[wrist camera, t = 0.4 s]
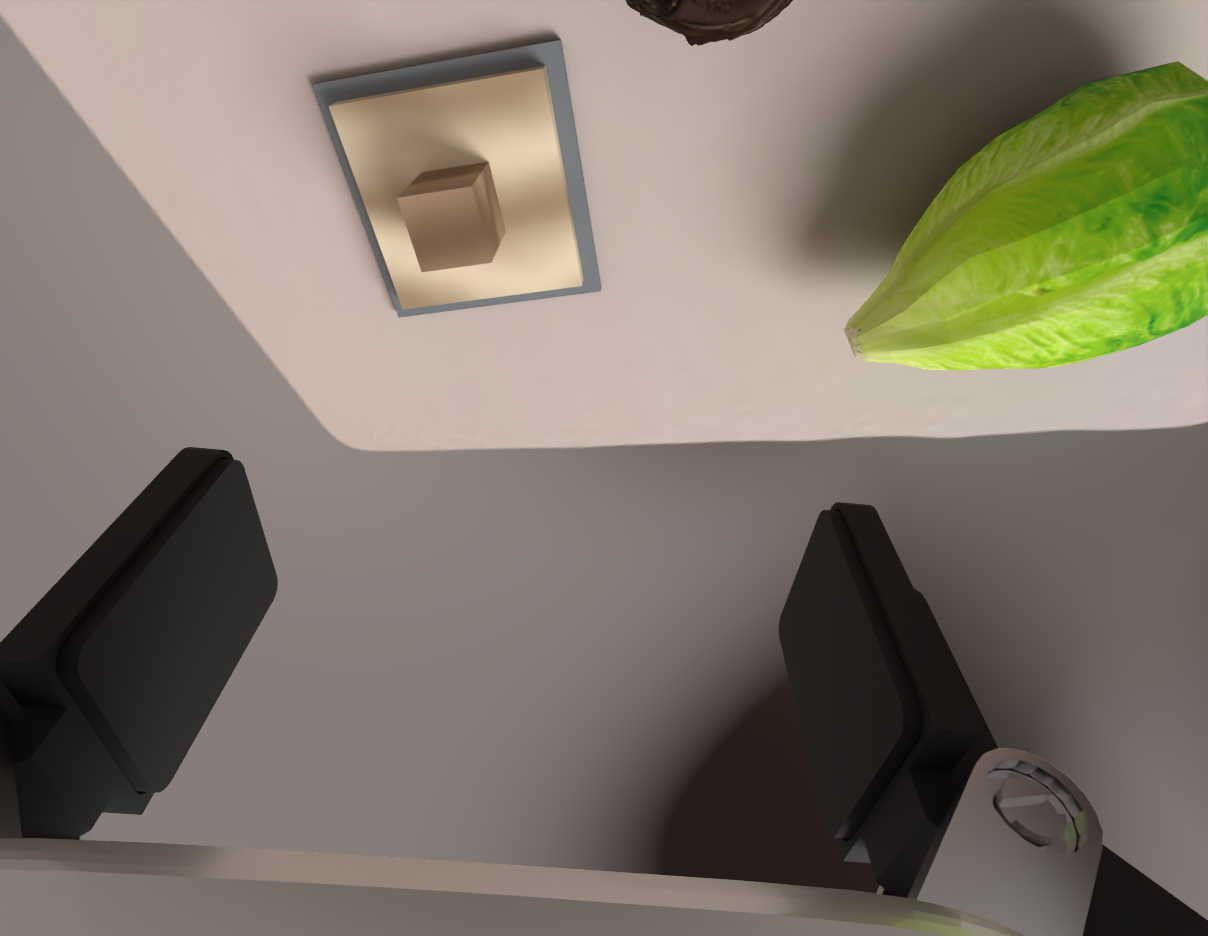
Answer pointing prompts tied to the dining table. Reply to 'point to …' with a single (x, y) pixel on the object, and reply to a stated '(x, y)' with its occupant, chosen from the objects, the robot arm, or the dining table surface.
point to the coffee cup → (710, 16)
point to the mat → (462, 70)
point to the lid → (464, 187)
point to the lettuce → (1058, 237)
